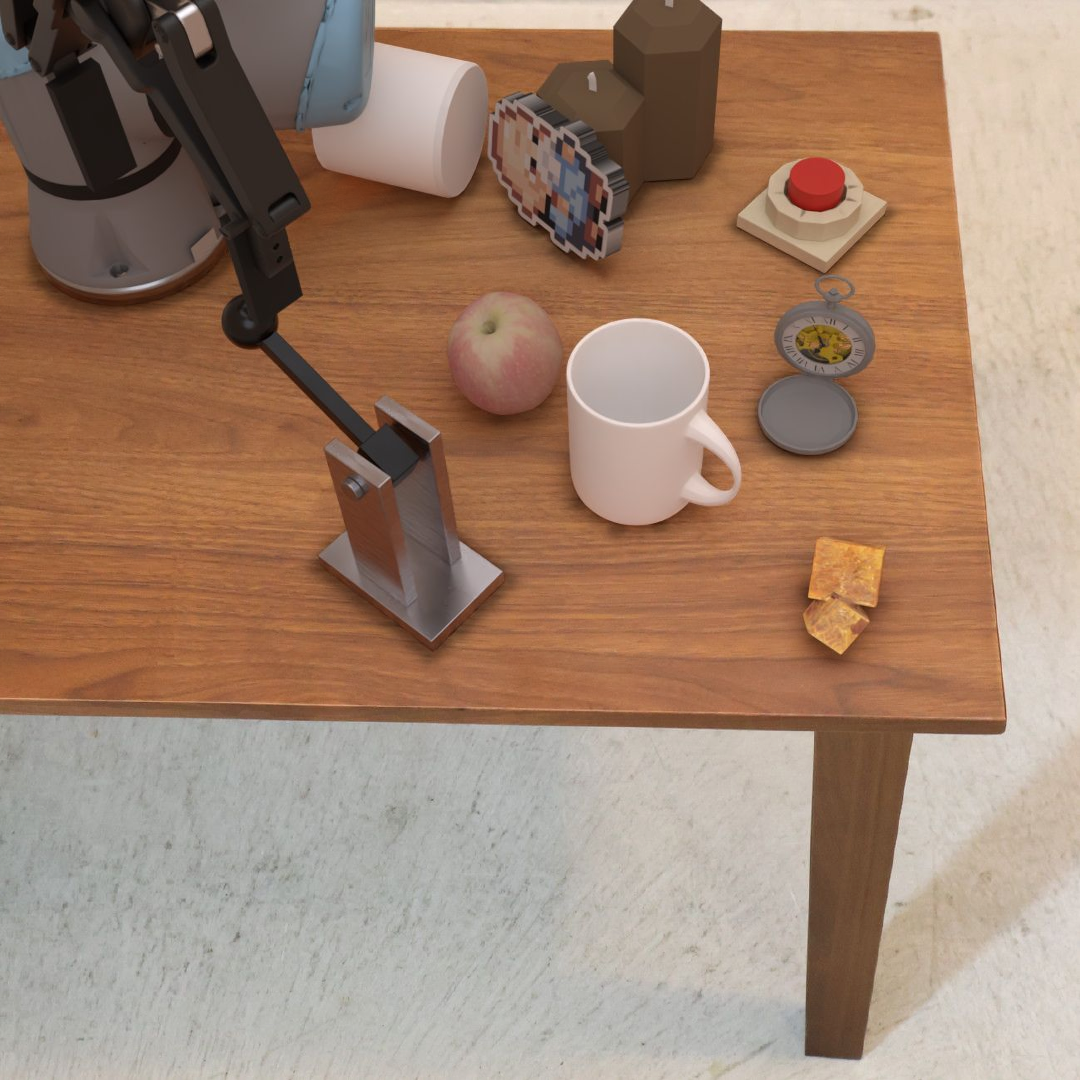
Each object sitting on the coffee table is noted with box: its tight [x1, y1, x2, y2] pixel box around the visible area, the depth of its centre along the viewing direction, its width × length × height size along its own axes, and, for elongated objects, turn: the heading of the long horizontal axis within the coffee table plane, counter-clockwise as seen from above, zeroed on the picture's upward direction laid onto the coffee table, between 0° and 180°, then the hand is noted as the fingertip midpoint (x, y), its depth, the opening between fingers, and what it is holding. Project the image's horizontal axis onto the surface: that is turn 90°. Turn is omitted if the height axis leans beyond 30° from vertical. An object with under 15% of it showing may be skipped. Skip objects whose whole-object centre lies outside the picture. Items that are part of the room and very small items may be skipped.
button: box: [788, 156, 845, 212], centre depth 102 cm, size 4×4×2 cm
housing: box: [735, 157, 888, 274], centre depth 104 cm, size 8×8×3 cm
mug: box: [565, 317, 743, 526], centre depth 87 cm, size 9×12×11 cm
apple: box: [446, 291, 565, 416], centre depth 94 cm, size 8×8×8 cm
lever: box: [220, 293, 420, 488], centre depth 79 cm, size 14×3×3 cm, turn 49°
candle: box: [535, 0, 723, 207], centre depth 104 cm, size 14×14×15 cm
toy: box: [487, 90, 629, 262], centre depth 102 cm, size 14×2×10 cm, turn 39°
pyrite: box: [802, 535, 888, 655], centre depth 84 cm, size 5×7×4 cm
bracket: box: [317, 394, 505, 652], centre depth 83 cm, size 10×7×14 cm, turn 49°
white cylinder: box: [311, 41, 490, 199], centre depth 107 cm, size 13×10×10 cm
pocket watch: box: [757, 274, 877, 456], centre depth 91 cm, size 8×8×10 cm
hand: (191, 239), depth 70 cm, fingers open, 13 cm apart
